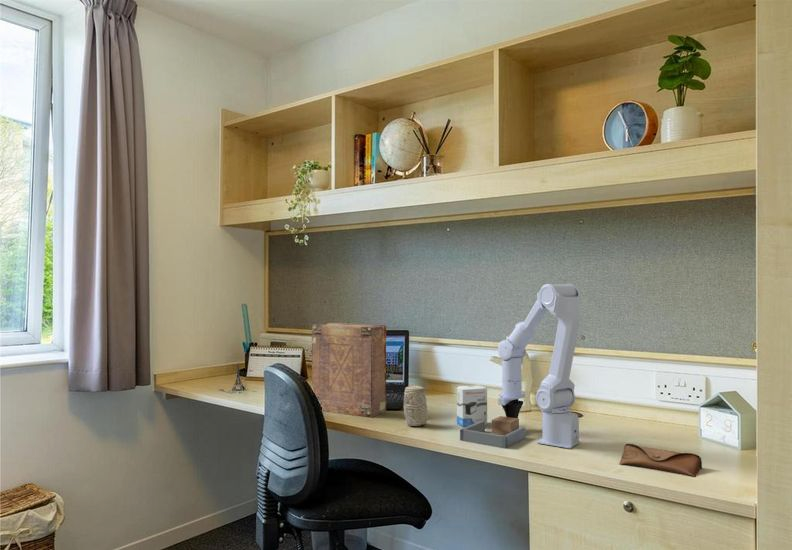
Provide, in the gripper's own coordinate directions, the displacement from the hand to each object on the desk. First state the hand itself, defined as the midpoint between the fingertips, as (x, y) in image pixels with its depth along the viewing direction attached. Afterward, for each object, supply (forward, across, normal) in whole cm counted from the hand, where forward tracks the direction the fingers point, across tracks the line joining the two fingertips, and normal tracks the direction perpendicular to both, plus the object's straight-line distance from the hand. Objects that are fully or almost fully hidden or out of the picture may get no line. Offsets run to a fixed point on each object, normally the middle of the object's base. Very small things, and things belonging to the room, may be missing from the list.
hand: (512, 425), depth 178 cm
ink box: (+2, +1, -13) cm, 13 cm away
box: (+1, +12, 0) cm, 12 cm away
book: (+2, +9, -58) cm, 58 cm away
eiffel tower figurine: (+2, +6, -121) cm, 121 cm away
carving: (+2, +12, -27) cm, 30 cm away
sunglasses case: (+2, +11, +44) cm, 45 cm away
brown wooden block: (+1, +4, 0) cm, 5 cm away
